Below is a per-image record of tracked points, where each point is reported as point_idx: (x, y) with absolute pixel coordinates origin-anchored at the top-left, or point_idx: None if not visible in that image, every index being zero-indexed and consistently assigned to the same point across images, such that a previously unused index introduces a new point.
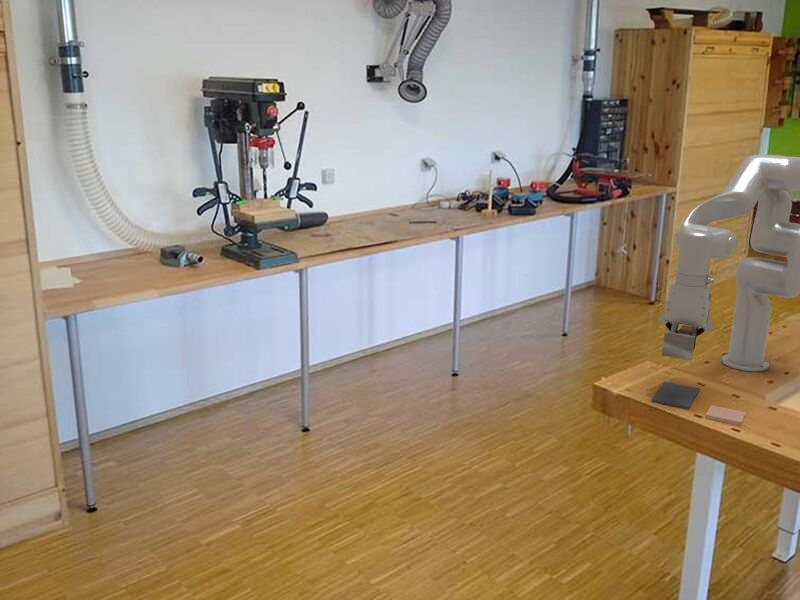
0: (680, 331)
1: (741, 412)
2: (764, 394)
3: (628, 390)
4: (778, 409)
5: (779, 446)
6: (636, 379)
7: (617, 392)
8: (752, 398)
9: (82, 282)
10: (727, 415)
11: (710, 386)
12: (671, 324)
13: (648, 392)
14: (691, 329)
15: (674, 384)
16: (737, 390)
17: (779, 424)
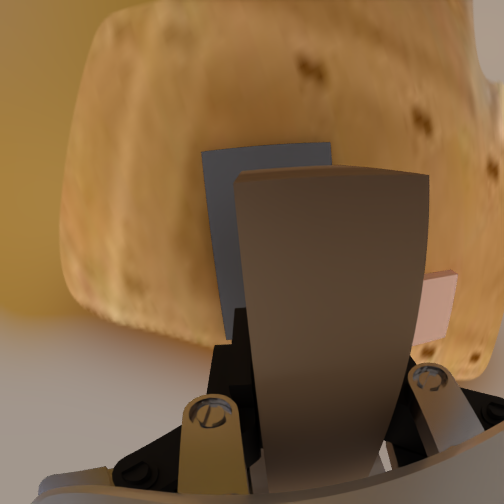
0: (290, 462)
1: (450, 282)
2: (467, 74)
3: (136, 287)
4: (501, 170)
5: (478, 359)
6: (113, 175)
7: (124, 319)
8: (456, 119)
9: None
10: (422, 323)
11: (344, 74)
12: (169, 482)
13: (187, 265)
14: (397, 336)
15: (241, 159)
16: (415, 71)
17: (499, 263)
